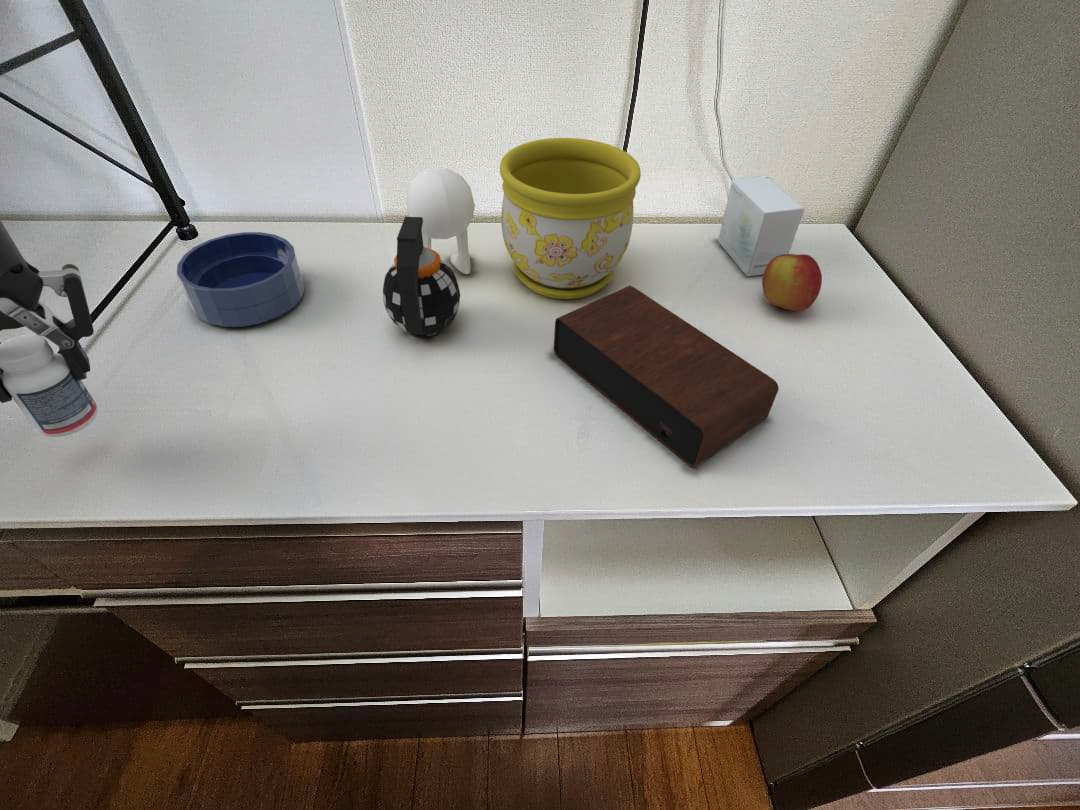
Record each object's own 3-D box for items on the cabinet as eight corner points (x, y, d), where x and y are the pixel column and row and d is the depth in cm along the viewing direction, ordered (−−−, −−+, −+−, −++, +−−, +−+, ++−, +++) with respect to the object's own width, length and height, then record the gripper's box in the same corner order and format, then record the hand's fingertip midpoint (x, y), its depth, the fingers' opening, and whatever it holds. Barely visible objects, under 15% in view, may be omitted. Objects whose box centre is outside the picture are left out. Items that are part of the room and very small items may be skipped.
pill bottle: (111, 411, 62) (68, 339, 56) (62, 446, 58) (10, 373, 52) (74, 394, 63) (28, 323, 57) (24, 427, 60) (-31, 355, 54)
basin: (177, 330, 79) (158, 291, 75) (213, 269, 89) (199, 231, 85) (291, 330, 80) (279, 290, 76) (314, 269, 90) (305, 232, 86)
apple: (815, 300, 88) (836, 249, 83) (804, 330, 83) (825, 278, 78) (762, 284, 91) (778, 234, 85) (747, 313, 86) (764, 262, 80)
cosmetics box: (714, 241, 99) (730, 177, 92) (751, 237, 100) (770, 174, 93) (745, 277, 92) (764, 211, 85) (784, 273, 93) (807, 207, 86)
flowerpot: (588, 234, 100) (597, 129, 88) (649, 293, 88) (669, 181, 77) (482, 257, 94) (478, 148, 82) (533, 324, 82) (536, 208, 71)
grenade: (455, 361, 77) (445, 252, 66) (378, 357, 77) (356, 249, 66) (466, 306, 85) (459, 202, 74) (396, 304, 85) (379, 199, 74)
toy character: (467, 250, 95) (461, 152, 85) (485, 282, 89) (482, 181, 79) (408, 261, 92) (394, 161, 82) (423, 294, 87) (411, 191, 76)
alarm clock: (765, 422, 71) (780, 384, 66) (694, 470, 65) (707, 432, 61) (621, 320, 84) (627, 282, 79) (553, 353, 78) (555, 315, 74)
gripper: (39, 175, 51) (126, 340, 63) (-193, 215, 45) (-50, 388, 57) (45, 213, 47) (137, 383, 58) (-212, 262, 41) (-52, 440, 53)
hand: (44, 384), depth 58 cm, fingers closed on pill bottle, 5 cm apart
